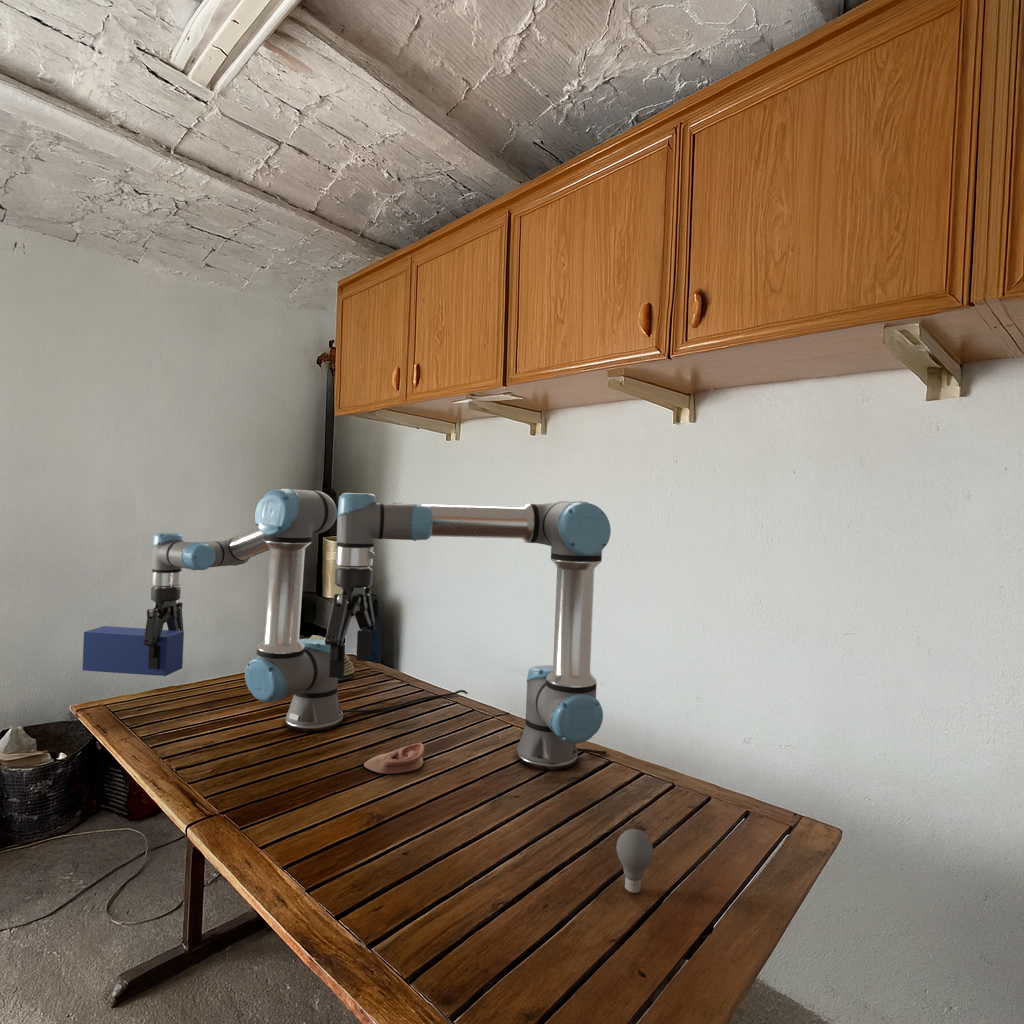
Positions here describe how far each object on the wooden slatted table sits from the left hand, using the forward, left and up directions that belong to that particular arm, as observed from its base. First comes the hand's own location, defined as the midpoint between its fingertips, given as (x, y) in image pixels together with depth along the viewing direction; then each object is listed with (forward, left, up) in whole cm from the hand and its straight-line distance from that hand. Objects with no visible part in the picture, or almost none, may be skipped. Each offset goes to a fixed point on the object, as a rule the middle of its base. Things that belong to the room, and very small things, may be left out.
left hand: (163, 664), depth 183 cm
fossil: (-51, +8, -13) cm, 53 cm away
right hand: (-2, +84, +15) cm, 85 cm away
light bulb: (-15, +144, -13) cm, 145 cm away
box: (+5, -7, -2) cm, 9 cm away
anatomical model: (-21, +78, -13) cm, 81 cm away
